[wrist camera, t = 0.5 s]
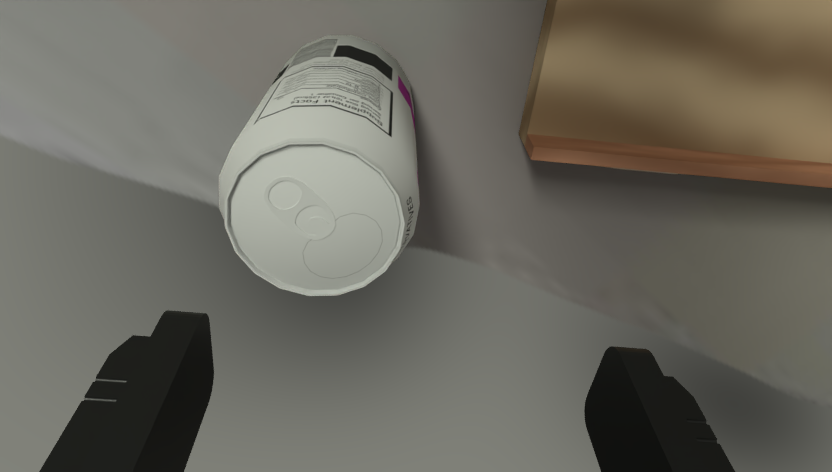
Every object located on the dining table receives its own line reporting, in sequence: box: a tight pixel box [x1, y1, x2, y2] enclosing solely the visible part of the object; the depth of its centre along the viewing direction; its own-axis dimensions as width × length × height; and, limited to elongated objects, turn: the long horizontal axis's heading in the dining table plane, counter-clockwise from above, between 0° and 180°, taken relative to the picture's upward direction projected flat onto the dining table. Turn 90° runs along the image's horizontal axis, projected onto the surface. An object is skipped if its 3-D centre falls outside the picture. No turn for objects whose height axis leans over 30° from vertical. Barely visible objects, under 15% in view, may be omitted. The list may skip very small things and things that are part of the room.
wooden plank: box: [519, 0, 832, 188], centre depth 32 cm, size 14×30×4 cm, turn 84°
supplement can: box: [219, 35, 420, 296], centre depth 29 cm, size 8×8×15 cm
